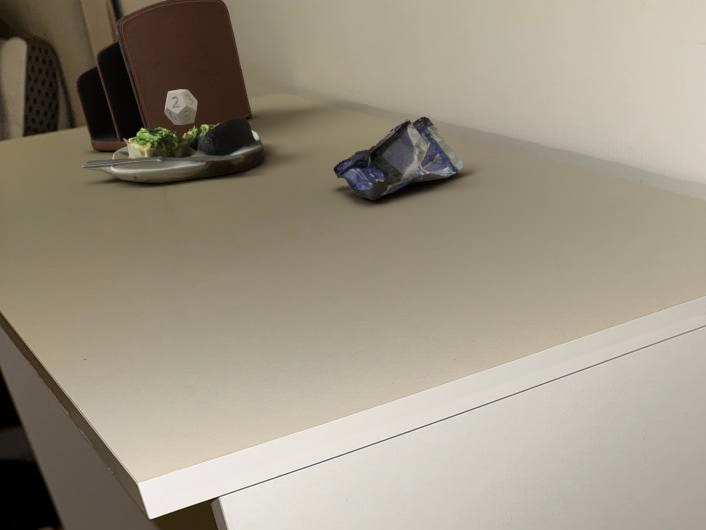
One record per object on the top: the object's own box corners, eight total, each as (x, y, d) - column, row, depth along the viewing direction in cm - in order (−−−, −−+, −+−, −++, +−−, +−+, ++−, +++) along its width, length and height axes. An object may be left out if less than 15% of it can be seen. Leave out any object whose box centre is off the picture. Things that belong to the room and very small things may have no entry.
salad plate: (81, 200, 94) (65, 150, 91) (93, 164, 108) (79, 120, 105) (271, 172, 97) (261, 123, 94) (259, 141, 111) (250, 97, 108)
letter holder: (253, 117, 124) (226, -12, 115) (154, 153, 110) (116, 11, 101) (195, 117, 127) (164, -8, 118) (92, 152, 114) (49, 14, 105)
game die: (161, 125, 100) (152, 94, 98) (188, 118, 102) (180, 87, 100) (181, 127, 98) (173, 95, 96) (208, 120, 100) (201, 88, 99)
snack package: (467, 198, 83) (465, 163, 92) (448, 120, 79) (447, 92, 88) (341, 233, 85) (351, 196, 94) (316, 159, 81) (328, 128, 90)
